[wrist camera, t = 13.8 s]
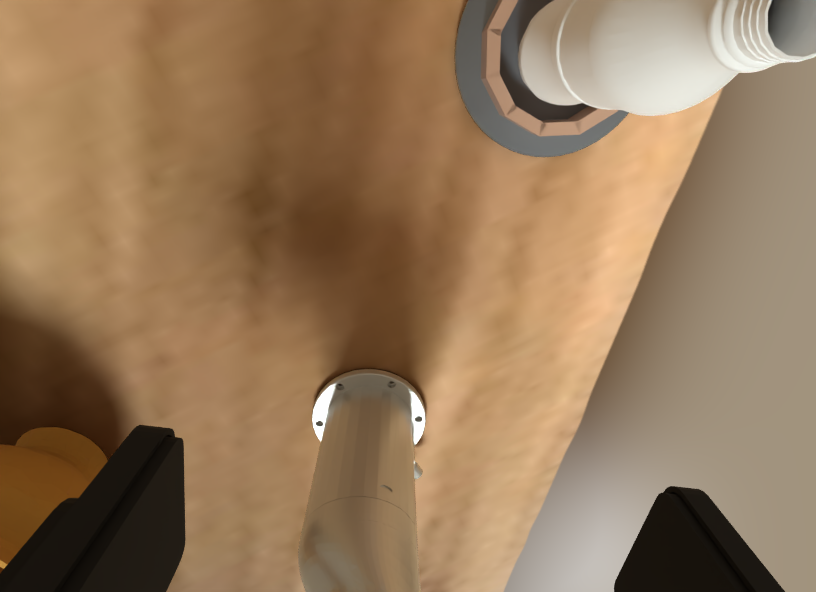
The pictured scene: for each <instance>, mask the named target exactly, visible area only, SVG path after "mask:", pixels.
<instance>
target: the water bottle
mask: <svg viewBox="0 0 816 592" xmlns="http://www.w3.org/2000/svg"><path fill="white" fill-rule="evenodd" d="M815 56H816V0H554V1H552V2H550V3H549V4H547V5H546V6H545V7H544V8H542V9H541V10H540V11H539V12H538V13H537V14H536V15H535V16H534V17H533V18H532V19H531V21H530V23H529V25H528V27H527V29H526V31H525V33H524V36H523V38H522V40H521V42H520V45H519V52H518V66H519V70H520V74H521V77H522V80H523V81H524V83H525V84H526V86H527V87H528V88H529V89H530V90H531V91H532V92H533V93H534V95H535V96H536V97H537V98H539V99H541V100H543V101H546V102H548V103H551V104H556V105H576V104H580V103H584V104H586V105H589V106H591V107H595V108H599V109H607V110H613V109H615V110H624V111H626V112H629V113H633V114H636V115H645V116H656V115H666V114H670V113H675V112H678V111H681V110H684V109H687V108H689V107H692V106H694V105H697V104H698V103H700V102H702V101H703V100H705V99H707V98H708V97H710V96H712V95H713V94H715V93H716V92H717V91H719V90H720V89H721V88H722V87H724V86H725V85H726V84H727V83H728V82H729V81H731V80H732V79H733V78H734V77H735V76H736V75H737V74H738V73H739V72H741V73H749V72H757V71H761V70H764V69H766V68H769V67H771V66H773V65H776V64H778V63H784V62H799V61H803V60H806V59H810V58H813V57H815Z"/></svg>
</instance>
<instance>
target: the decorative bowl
mask: <svg viewBox="0 0 816 592" xmlns="http://www.w3.org/2000/svg"><path fill="white" fill-rule="evenodd" d="M107 462H108V460H107V458H106V456H105V454H104V453H103V452H102V450H101V449H100V448H99V447H98V446H97V445H96V444H95V443H93V442H92V441H91V440H90V439H88V438H86V437H85V436H83V435H81V434H78V433H76V432H73V431H71V430H68V429H64V428H58V427H40V428H36V429H32V430H30V431H28V432H26V433H24V434H23V435H22V436H21V437H20V438H19V439H18V440H17V443H16V445H15V446H12V445H0V573H1V572H2V570H3V569H4V568H5V567H6V566H7V565H8V563H9V562H10V561H11V560H12V559H13V557H14V556H15V555H16V554H17V553H18V551H19V550H20V549H21V548H22V547H23V545H24V544H25V543H26V542H27V541H28V540H29V538H30V537H31V536H32V535H33V534H34V532H35V531H36V530H37V529H38V528H39V526H40V525H41V524H42V523H43V522H44V520H45V519H46V518H47V517H48V516H49V515H50V513H51V512H52V511H53V510H54V509H55V508H56V507H57V506H58V505H59V504H60V503H61V502H63V501H64V500H66V499H68V498H79V497H80V495H81V494H82V493H83V492H84V490H85V489H86V488H87V487H88V485H89V484H90V483H91V482H92V480H93V479H94V478H95V477H96V475H97V474H98V473H99V472H100V470H101V469H102V468H103V467H104V465H105V464H106V463H107Z"/></svg>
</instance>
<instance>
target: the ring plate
mask: <svg viewBox="0 0 816 592" xmlns="http://www.w3.org/2000/svg"><path fill="white" fill-rule="evenodd" d="M552 1H554V0H468V1H467V4H466V6H465V9H464V11H463V13H462V17H461V20H460V23H459V27H458V31H457V37H456V43H455V73H456V78H457V84H458V88H459V91H460V94H461V98H462V100H463V102H464V104H465V107H466V109H467V111H468V112H469V114H470V116H471V117H472V119H473V120H474V122H475V123H476V124H477V125H478V127H479V128H480V129H481V130H482V131H483V132H484V133H485V134H486V135H487V136H489V137H490V138H491V139H492V140H494V141H495V142H497V143H498V144H500V145H501V146H503V147H505V148H507V149H509V150H512V151H514V152H517V153H520V154H523V155H529V156H535V157H553V156H561V155H565V154H569V153H573V152H575V151H578V150H581V149H583V148H585V147H587V146H589V145H591V144H593V143H595V142H597V141H598V140H599V139H601V138H602V137H604V136H605V135H607V134H608V133H609V132H610V131H611V130H613V129H614V128H615V127H616V126H617V125H618V124H619V123H620V122H621V121H622V120H623V119H624V118H625V117H626V116H627V114H628V113H629V112H626V111H624V110H615V109H613V110H607V109H599V108H595V107H591V106H589V105H586V104H584V103H580V104H576V105H556V104H551V103H548V102H546V101H543V100H541V99H539V98H537V97H536V96H535V95H534V93H533V92H532V91H531V90H530V89H529V88H528V87H527V86H526V84H525V83H524V81H523V80H522V77H521V74H520V70H519V66H518V52H519V45H520V42H521V40H522V38H523V36H524V33H525V31H526V29H527V27H528V25H529V23H530V21H531V19H532V18H533V17H534V16H535V15H536V14H537V13H538V12H539V11H540V10H541V9H542V8H544V7H545V6H546V5H547V4H549V3H550V2H552Z"/></svg>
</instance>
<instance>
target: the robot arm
mask: <svg viewBox="0 0 816 592" xmlns="http://www.w3.org/2000/svg"><path fill="white" fill-rule="evenodd" d="M425 423H426V415H425V408H424V403H423V401H422V399H421V396H420V394H419V393H418V392H417V391H416V389H415V388H414V387H413V386H412V385H411V384H410V383H409V382H407V381H406V380H404V379H403V378H401V377H399V376H398V375H395V374H392V373H390V372H387V371H382V370H377V369H361V370H354V371H351V372H347V373H344V374H342V375H340V376H338V377H336V378H334V379H333V380H331V381H330V382H329V383H328V384H326V385H325V387H324V388H323V389H322V390H321V391H320V393H319V395H318V396H317V398H316V401H315V404H314V408H313V414H312V424H313V427H314V430H315V433H316V435H317V437H318V438H319V440H320V442H321V444H320V448H319V453H318V458H317V462H316V467H315V472H314V476H313V481H312V486H311V491H310V495H309V500H308V505H307V509H306V514H305V519H304V524H303V528H302V532H301V537H300V542H299V549H298V563H299V570H300V575H301V579H302V582H303V585H304V588H305V591H306V592H421V587H420V577H419V562H418V543H417V523H416V501H415V479H418V478H419V477H420V476H421V475H422V472H423V471H422V469H421V468H420V466H419V465H418V464H417V463H416V462H415V456H414V446H415V445H416V444H417V443H418V441H419V440H420V438H421V437H422V434H423V432H424V429H425ZM184 547H185V498H184V445H183V440H182V438H176V437H175V434H174V431H173V429H170V428H162V427H154V426H145V425H139V426H137V427H136V428H135V429H134V430H133V431H132V432H131V433H130V434H129V436H128V437H127V438H126V439H125V441H124V442H123V443H122V444H121V446H120V447H119V448H118V449H117V450H116V452H115V453H114V454H113V455H112V457H111V458H110V459H109V460H108V462H107V463H106V464H105V465H104V467H103V468H102V469H101V470H100V472H99V473H98V474H97V475H96V477H95V478H94V479H93V480H92V482H91V483H90V484H89V485H88V487H87V488H86V489H85V490H84V492H83V493H82V494H81V495H80V497H79V498H68V499H66V500H64V501H63V502H61V503H60V504H59V505H58V506H57V507H56V508H55V509H54V510H53V511H52V512H51V513H50V515H49V516H48V517H47V518H46V519H45V520H44V522H43V523H42V524H41V525H40V526H39V528H38V529H37V530H36V531H35V532H34V534H33V535H32V536H31V537H30V538H29V540H28V541H27V542H26V543H25V544H24V545H23V547H22V548H21V549H20V550H19V551H18V553H17V554H16V555H15V556H14V557H13V559H12V560H11V561H10V562H9V563H8V565H7V566H6V567H5V568H4V569H3V570H2V572H1V573H0V592H166V591H167V589H168V587H169V584H170V582H171V580H172V578H173V576H174V574H175V572H176V569H177V567H178V565H179V563H180V561H181V558H182V555H183V551H184ZM614 592H785V591H784V590H783V589H782V588H781V586H780V585H779V584H778V582H777V581H776V580H775V579H774V578H773V576H772V575H771V574H770V573H769V571H768V570H767V569H766V567H765V566H764V565H763V564H762V563H761V561H760V560H759V559H758V558H757V556H756V555H755V554H754V553H753V551H752V550H751V549H750V548H749V546H748V545H747V544H746V543H745V541H744V540H743V539H742V538H741V536H740V535H739V534H738V533H737V531H736V530H735V529H734V528H733V526H732V525H731V524H730V523H729V521H728V520H727V519H726V518H725V516H724V515H723V514H722V513H721V511H720V510H719V509H718V508H717V506H716V505H715V504H714V503H713V501H712V500H711V499H710V498H709V496H708V495H707V494H706V493H705V492H703V491H701V490H699V489H691V488H683V487H675V486H670V487H668V488H667V489H666V490H665V491H664V492H663V493H660V494H659V495H658V496H657V498H656V500H655V502H654V504H653V506H652V508H651V510H650V512H649V514H648V516H647V518H646V520H645V522H644V524H643V526H642V528H641V530H640V532H639V534H638V536H637V538H636V540H635V542H634V544H633V546H632V548H631V550H630V553H629V554H628V556H627V558H626V561H625V562H624V565H623V567H622V569H621V571H620V573H619V575H618V577H617V579H616V581H615V585H614Z"/></svg>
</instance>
